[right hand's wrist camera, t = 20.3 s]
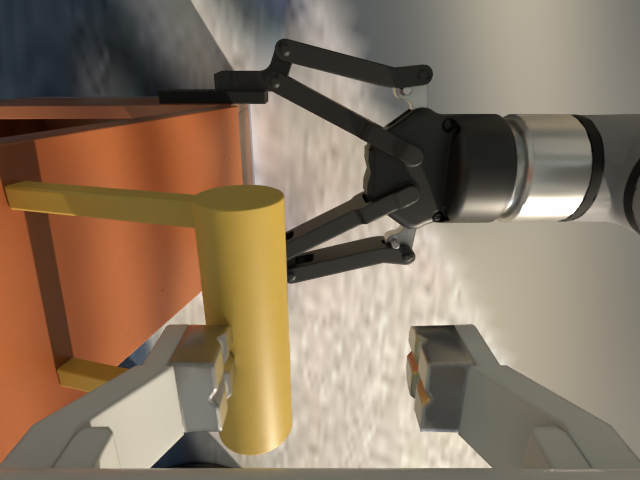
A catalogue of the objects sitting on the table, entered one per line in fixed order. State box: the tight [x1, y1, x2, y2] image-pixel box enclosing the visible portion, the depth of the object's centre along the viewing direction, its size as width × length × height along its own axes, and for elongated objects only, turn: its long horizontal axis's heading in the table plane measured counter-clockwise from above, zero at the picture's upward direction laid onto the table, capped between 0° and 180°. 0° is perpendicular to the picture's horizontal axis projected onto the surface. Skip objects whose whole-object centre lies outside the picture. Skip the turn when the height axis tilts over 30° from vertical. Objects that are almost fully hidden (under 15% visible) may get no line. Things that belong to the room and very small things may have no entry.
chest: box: [0, 97, 255, 185], centre depth 31 cm, size 17×9×10 cm, turn 90°
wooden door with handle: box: [0, 105, 292, 464], centre depth 17 cm, size 18×9×9 cm
